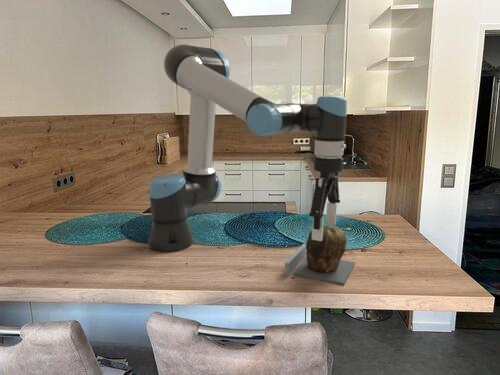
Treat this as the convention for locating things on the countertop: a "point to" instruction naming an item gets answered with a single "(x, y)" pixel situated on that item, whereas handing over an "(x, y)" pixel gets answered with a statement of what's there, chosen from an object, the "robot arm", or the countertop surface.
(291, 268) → the acrylic wall
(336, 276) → the pad
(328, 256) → the brown rounded lump
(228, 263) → the countertop surface
